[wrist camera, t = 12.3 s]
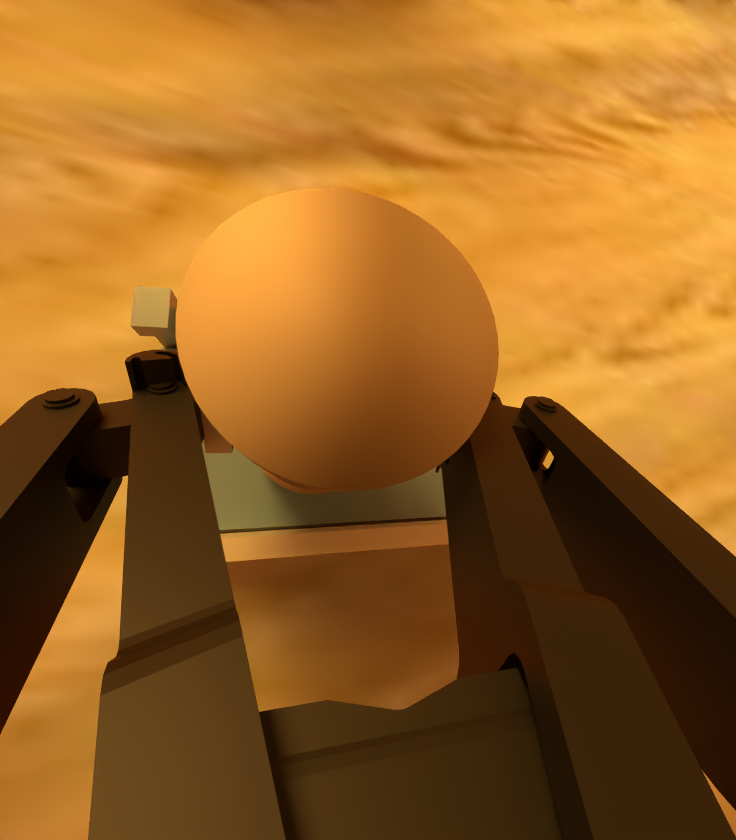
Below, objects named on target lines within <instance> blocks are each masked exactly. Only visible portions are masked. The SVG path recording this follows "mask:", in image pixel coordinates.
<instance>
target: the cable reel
mask: <svg viewBox="0 0 736 840" xmlns="http://www.w3.org/2000/svg"><path fill="white" fill-rule="evenodd" d="M176 342H177V349H178V355H179V360H180V363H181V367H182V370H183V373H184V376H185V379H186V382H187V384H188V386H189V388H190V390H191V392H192V394H193V396H194V398H195V400H196V402H197V404H198V405H199V407H200V408H201V410H202V411H203V413H204V414H205V416H206V417H207V418H208V420H209V421H210V423H211V424H212V425H213V426H214V427H215V428H216V429H217V430H218V431H219V433H220V434H221V435H222V436H223V437H224V438H225V439H226V440H227V441H228V442H229V443H230V444H231V445H233V446H234V447H235V448H236V449H237V450H238V451H240V452H241V453H242V454H243V455H244V456H246V457H247V458H248V459H249V460H250V461H252V462H253V463H254V464H256V465H258V466H259V467H260V468H261V469H262V470H263V472H264V473H265V474H266V475H267V476H268V477H269V478H271V479H272V480H273V481H274V482H275V483H277V484H279V485H280V486H282V487H284V488H286V489H288V490H291V491H294V492H298V493H304V494H320V493H327V492H331V491H345V492H349V491H362V490H371V489H380V488H385V487H388V486H392V485H396V484H400V483H404V482H406V481H408V480H411V479H413V478H416V477H418V476H421V475H423V474H425V473H426V472H428V471H430V470H431V469H433V468H435V467H437V466H438V465H440V464H441V463H442V462H444V461H445V460H446V459H447V458H449V457H450V456H451V455H453V454H454V453H455V452H456V451H457V450H458V449H459V448H460V447H461V446H462V445H463V444H464V443H465V441H466V440H467V439H468V438H469V437H470V436H471V434H472V433H473V431H474V430H475V428H476V427H477V426H478V424H479V423H480V421H481V419H482V417H483V415H484V413H485V411H486V409H487V407H488V405H489V402H490V399H491V396H492V393H493V390H494V386H495V381H496V376H497V370H498V355H499V351H498V336H497V330H496V325H495V320H494V316H493V312H492V309H491V306H490V303H489V300H488V298H487V295H486V293H485V291H484V289H483V287H482V284H481V282H480V281H479V279H478V277H477V276H476V274H475V272H474V271H473V269H472V267H471V266H470V265H469V263H468V262H467V261H466V259H465V258H464V257H463V255H462V254H461V253H460V252H459V251H458V249H457V248H456V247H455V246H454V245H453V244H452V243H451V242H450V241H449V240H448V239H447V238H446V237H445V236H444V235H443V234H441V233H440V232H439V231H438V230H437V229H436V228H435V227H433V226H432V225H430V224H429V223H428V222H426V221H425V220H423V219H422V218H421V217H419V216H417V215H416V214H414V213H412V212H410V211H409V210H407V209H405V208H403V207H401V206H399V205H397V204H394V203H392V202H390V201H387V200H385V199H382V198H379V197H376V196H373V195H369V194H366V193H361V192H356V191H351V190H345V189H334V188H308V189H301V190H294V191H288V192H284V193H281V194H277V195H273V196H270V197H267V198H265V199H262V200H260V201H257V202H255V203H253V204H251V205H249V206H247V207H246V208H244V209H242V210H240V211H239V212H237V213H235V214H234V215H233V216H231V217H230V218H229V219H227V220H226V221H225V222H224V223H222V224H221V225H220V226H219V227H218V228H217V229H216V230H215V231H214V232H213V233H212V234H211V235H210V236H209V237H208V238H207V239H206V240H205V242H204V243H203V245H202V246H201V247H200V249H199V250H198V252H197V253H196V254H195V256H194V258H193V260H192V262H191V264H190V266H189V268H188V270H187V272H186V274H185V277H184V280H183V283H182V286H181V289H180V292H179V296H178V303H177V309H176Z"/></svg>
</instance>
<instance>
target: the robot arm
mask: <svg viewBox="0 0 736 840" xmlns="http://www.w3.org/2000/svg"><path fill="white" fill-rule="evenodd" d="M125 365H126V368H127V372H128V376H129V379H130V383H131V387H132V391H133V396H132V399H129V400H124V401H118V402H110V403H103V404H98V401H97V398H96V396H95V394H94V393H93V392H92V391H89V390H86V389H77V388H70V389H65V388H61V389H56V390H50V391H47V392H46V393H43V394H41V395H38V396H35V397H34V398H32V399H31V400H29V401H28V402H26V403H25V404H24V405H23V406H22V407H21V408H20V409H19V410H18V411H17V412H15V413H14V414H13V415H12V416H11V417H10V418H9V419H8V420H7V421H6V422H5V423H3V424H2V425H1V426H0V734H1V732H2V730H3V727H4V725H5V723H6V721H7V719H8V717H9V715H10V713H11V711H12V709H13V707H14V705H15V703H16V700H17V698H18V696H19V694H20V692H21V690H22V688H23V686H24V684H25V682H26V680H27V678H28V676H29V673H30V671H31V669H32V667H33V665H34V663H35V661H36V659H37V657H38V655H39V653H40V651H41V649H42V646H43V644H44V642H45V640H46V638H47V636H48V634H49V632H50V630H51V628H52V626H53V624H54V622H55V619H56V617H57V615H58V613H59V611H60V609H61V607H62V605H63V603H64V601H65V599H66V597H67V595H68V592H69V590H70V588H71V586H72V584H73V582H74V580H75V578H76V576H77V574H78V572H79V570H80V568H81V565H82V563H83V561H84V559H85V557H86V555H87V553H88V551H89V549H90V547H91V545H92V543H93V541H94V538H95V536H96V534H97V532H98V530H99V528H100V526H101V524H102V522H103V520H104V518H105V516H106V514H107V511H108V509H109V507H110V505H111V503H112V501H113V499H114V497H115V495H116V493H117V491H118V489H119V487H120V484H121V482H122V477H123V476H127V475H128V489H127V508H126V527H125V546H124V564H123V583H122V602H121V621H120V640H119V649H118V653H117V656H116V657H115V658H114V659H112V660H111V661H109V662H108V663H107V666H106V669H105V672H104V674H103V680H102V687H101V694H100V704H99V716H98V728H97V740H96V752H95V764H94V776H93V787H92V799H91V811H90V823H89V835H88V840H736V837H735V835H734V833H733V831H732V829H731V827H730V825H729V823H728V821H727V819H726V817H725V815H724V813H723V811H722V809H721V807H720V805H719V803H718V801H717V799H716V797H715V795H714V793H713V791H712V789H711V787H710V785H709V784H708V781H707V780H706V777H705V776H704V774H703V772H704V773H705V774H706V776H707V777H708V778H709V779H710V781H711V782H712V783H713V784H714V786H715V787H716V788H717V789H718V791H719V792H720V793H721V794H722V795H723V796H724V798H725V799H726V800H727V801H728V802H729V803H730V804H731V806H732V807H733V808H734V809H735V810H736V557H735V556H734V555H733V554H732V553H731V552H730V551H728V550H727V549H726V548H725V547H724V546H723V545H722V544H720V543H719V542H718V541H717V540H716V539H715V538H713V537H712V536H711V535H710V534H709V533H708V532H707V531H705V530H704V529H703V528H702V527H701V526H700V525H699V524H697V523H696V522H695V521H694V520H693V519H692V518H691V517H689V516H688V515H687V514H686V513H685V512H684V511H682V510H681V509H680V508H679V507H678V506H677V505H676V504H674V503H673V502H672V501H671V500H670V499H669V498H668V497H666V496H665V495H664V494H663V493H662V492H661V491H660V490H658V489H657V488H656V487H655V486H654V485H653V484H651V483H650V482H649V481H648V480H647V479H646V478H645V477H643V476H642V475H641V474H640V473H639V472H638V471H637V470H635V469H634V468H633V467H632V466H631V465H630V464H628V463H627V462H626V461H625V460H624V459H623V458H622V457H620V456H619V455H618V454H617V453H616V452H615V451H614V450H612V449H611V448H610V447H609V446H608V445H607V444H606V443H604V442H603V441H602V440H601V439H600V438H599V437H597V436H596V435H595V434H594V433H593V432H592V431H591V430H589V429H588V428H587V427H586V426H585V425H584V424H583V423H581V422H580V421H579V420H578V419H577V418H576V417H575V416H573V415H572V414H571V413H570V412H569V411H568V410H566V409H565V408H564V407H563V406H561V405H560V404H558V403H556V402H554V401H553V400H552V399H549V398H546V397H536V396H531V397H527V398H525V399H524V402H523V404H522V407H521V408H516V407H510V406H505V405H502V403H501V400H500V398H499V397H498V395H497V394H495V393H494V392H493V393H492V396H491V399H490V402H489V405H488V407H487V409H486V411H485V413H484V415H483V417H482V419H481V421H480V423H479V424H478V426H477V427H476V428H475V430H474V431H473V433H472V434H471V436H470V437H469V438H468V439H467V440H466V441H465V443H464V444H463V445H462V446H461V447H460V448H459V449H458V450H457V451H456V452H455V453H454V454H453V455H451V456H450V457H449V458H447V459H446V460H445V461H444V462H442V463H441V464H440V465H438V466H437V467H436V471H435V472H436V473H438V472H439V469H440V468H441V469H442V479H443V489H444V499H445V510H446V520H447V530H448V540H449V551H450V561H451V571H452V581H453V592H454V602H455V612H456V622H457V633H458V643H459V669H458V675H457V680H455V681H453V682H452V683H450V684H448V685H446V686H445V687H443V688H441V689H440V690H438V691H436V692H434V693H433V694H431V695H429V696H427V697H426V698H424V699H422V700H420V701H419V702H417V703H415V704H413V705H412V706H410V707H408V708H406V709H403V710H390V709H384V708H377V707H370V706H363V705H357V704H350V703H343V702H336V701H329V700H326V701H320V702H314V703H308V704H303V705H297V706H291V707H285V708H279V709H274V710H268V711H262V712H259V710H258V706H257V701H256V696H255V691H254V687H253V682H252V677H251V672H250V668H249V663H248V658H247V653H246V649H245V644H244V639H243V634H242V630H241V625H240V621H239V617H238V613H237V611H236V607H235V603H234V598H233V593H232V589H231V584H230V579H229V574H228V569H227V564H226V560H225V555H224V550H223V545H222V540H221V535H220V531H219V526H218V521H217V516H216V511H215V506H214V501H213V497H212V492H211V487H210V482H209V477H208V472H207V468H206V463H205V458H204V453H203V448H202V442H203V440H204V445H205V452H206V453H232V452H233V448H234V446H233V445H231V444H230V443H229V442H228V441H227V440H226V439H225V438H224V437H223V436H222V435H221V434H220V433H219V431H218V430H217V429H216V428H215V427H214V426H213V425H212V424H211V423H210V421H209V420H208V418H207V417H206V416H205V414H204V413H203V411H202V410H201V408H200V407H199V405H198V404H197V402H196V400H195V398H194V396H193V394H192V392H191V390H190V388H189V386H188V384H187V382H186V379H185V376H184V373H183V370H182V367H181V363H180V360H179V355H178V352H176V351H170V350H149V351H143V352H139V353H136V354H133V355H131V356H129V357H128V358H127V359H126V360H125ZM549 450H550V451H551V453H552V454H553V456H554V459H553V461H552V463H551V465H550V467H549V468H548V469H547V468H546V467H545V466H544V465H543V462H544V460H545V458H546V456H547V454H548V452H549ZM701 769H702V770H703V772H702V770H701Z"/></svg>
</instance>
